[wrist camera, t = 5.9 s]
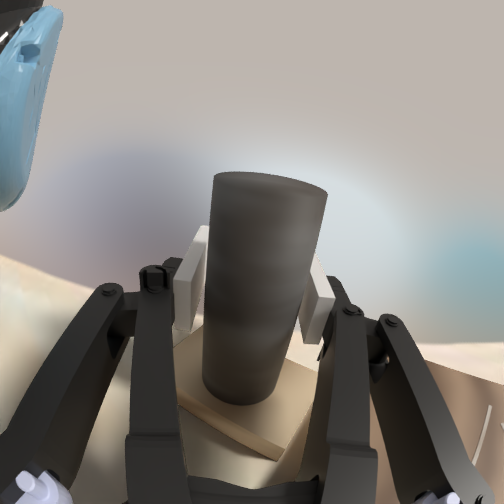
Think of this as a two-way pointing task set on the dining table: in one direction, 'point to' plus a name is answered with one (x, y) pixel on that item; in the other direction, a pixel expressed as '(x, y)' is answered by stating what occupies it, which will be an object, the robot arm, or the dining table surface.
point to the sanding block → (253, 311)
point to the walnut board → (468, 424)
